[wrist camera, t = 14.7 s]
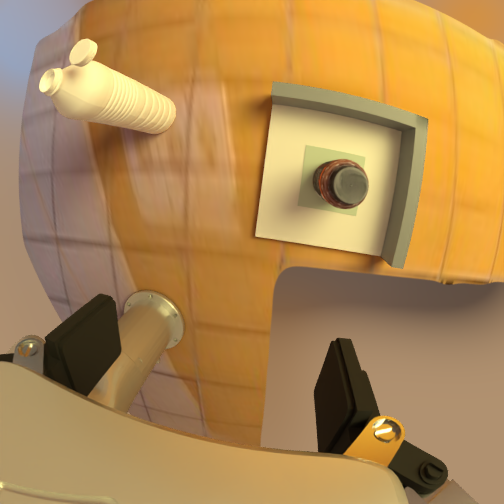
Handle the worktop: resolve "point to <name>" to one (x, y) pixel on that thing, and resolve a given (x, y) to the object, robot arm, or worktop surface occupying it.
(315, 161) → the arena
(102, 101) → the water bottle
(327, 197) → the supplement bottle
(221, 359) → the worktop surface
